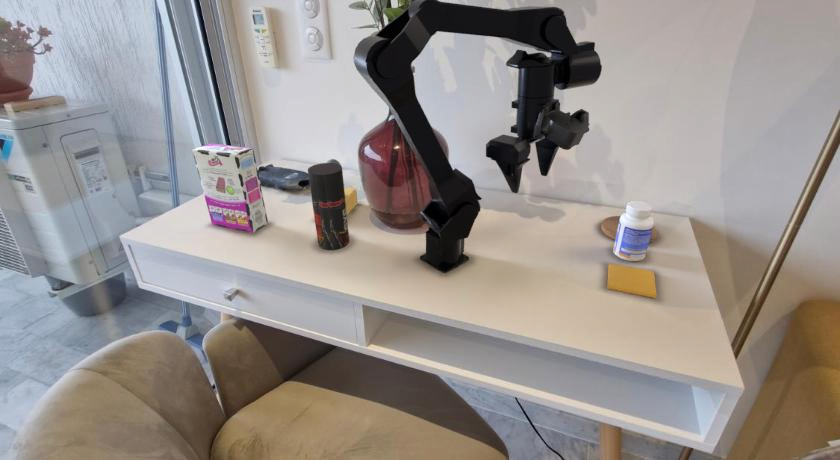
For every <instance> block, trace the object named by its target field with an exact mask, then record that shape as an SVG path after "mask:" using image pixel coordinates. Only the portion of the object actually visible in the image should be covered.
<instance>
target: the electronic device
mask: <svg viewBox="0 0 840 460" xmlns="http://www.w3.org/2000/svg"><path fill="white" fill-rule="evenodd" d="M257 170H258V175H259V180H260V185H263V186H268V187H274V188H276V189H278V190H281V191H284V192H285V191H287V192H296V191H299V190H306V188H307V187H310V183H309V176H308V172H306V171H303V170H298V169H294V168H293V169H292V168H289V167H288V168H287V167H281V166H275V165H274V164H273V163H269V164H268V165H265V166H264V165H261V166H259V167H258V168H257Z"/></svg>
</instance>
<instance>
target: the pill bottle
mask: <svg viewBox="0 0 840 460" xmlns="http://www.w3.org/2000/svg"><path fill="white" fill-rule="evenodd" d="M653 209H654V207H653V205H652V204H651V203H648V202H646V201H642V200H631V201H629V202H627V204H626V207H625V212H624V213H623V212H622V214H621V215H620V216H621V217H620V220H619V225H618V230H617V234H616V239H615V240H614V244H613V248H612V250H613V251H612V252H613V254H614V255H615V256H616V257H618V258H619V259H621V260H625V261H628V262H641V261H643V260H645V258H646V255H647V252H648V248H649V244H650V243H649V240H650V237H651V233H652V229H653V226H654V225H655V221H654V218H653V217H652V214H653Z"/></svg>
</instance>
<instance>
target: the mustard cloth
mask: <svg viewBox="0 0 840 460" xmlns="http://www.w3.org/2000/svg"><path fill="white" fill-rule="evenodd" d="M607 267H608V268H607V286H606V288H607V290H608V289H609V290H613V291H619V292H623V293H628V294H632V295H633V294H634V295H637V296H638V295H639V296H643V297H648V298H654V299H656V298H657V287H656V279H655V272H654V271H652V270H649V269H648V270H647V269H642V268H636V267H631V266H626V265H621V264H614V263H608V266H607Z"/></svg>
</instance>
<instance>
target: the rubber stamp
mask: <svg viewBox="0 0 840 460" xmlns="http://www.w3.org/2000/svg"><path fill="white" fill-rule="evenodd" d="M326 163H335V164H339V165H341V163H340V161H338V160H337V159H334V158H331V159H328V160H327V161H326ZM341 166H342V165H341ZM344 192H345V202H346V212H347V216H348V215H349V213H350V212H352V210H353V209H354V207H355V206H357V204H358V202H359V201H358V192H357V189H356V188H348V187H344Z"/></svg>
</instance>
